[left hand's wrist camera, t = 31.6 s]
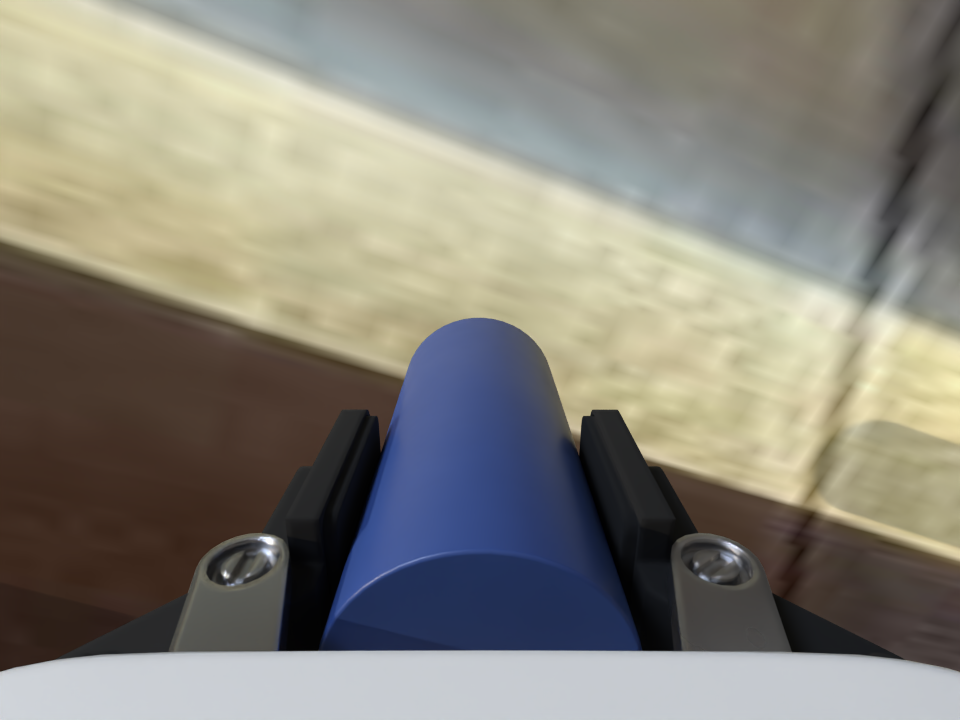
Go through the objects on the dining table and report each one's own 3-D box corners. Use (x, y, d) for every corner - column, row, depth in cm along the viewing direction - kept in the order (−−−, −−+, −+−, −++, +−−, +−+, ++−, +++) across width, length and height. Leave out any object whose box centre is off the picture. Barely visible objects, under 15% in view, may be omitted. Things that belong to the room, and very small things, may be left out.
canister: (568, 427, 17) (677, 754, 8) (436, 467, 18) (390, 821, 8) (526, 297, 16) (597, 508, 6) (383, 345, 16) (255, 606, 7)
